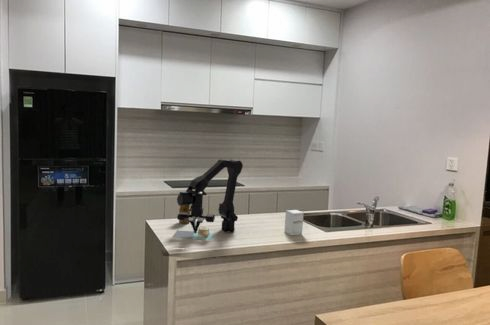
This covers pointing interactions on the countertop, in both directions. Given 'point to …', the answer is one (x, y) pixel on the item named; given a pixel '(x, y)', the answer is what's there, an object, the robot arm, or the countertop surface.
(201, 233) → the beech block
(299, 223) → the supplement box
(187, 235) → the runner mat
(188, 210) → the condiment
